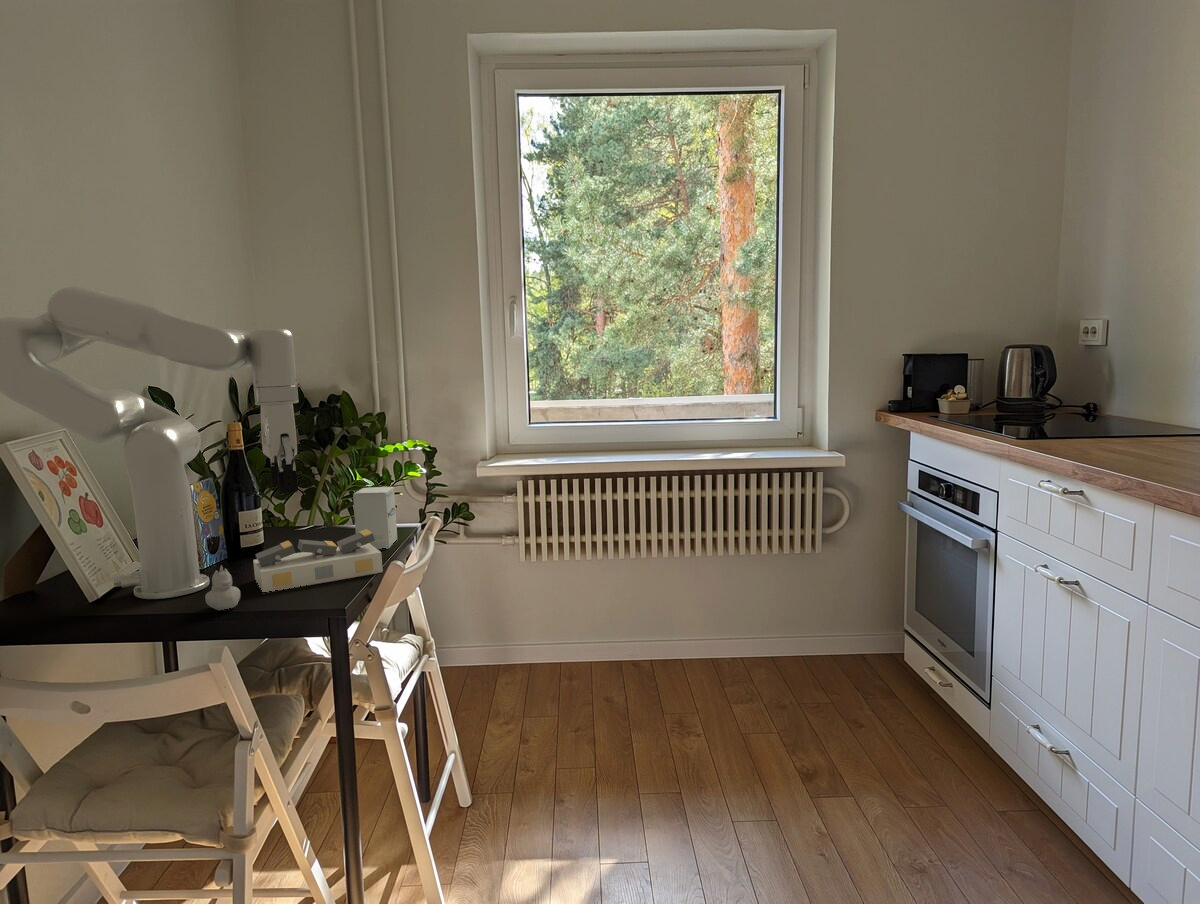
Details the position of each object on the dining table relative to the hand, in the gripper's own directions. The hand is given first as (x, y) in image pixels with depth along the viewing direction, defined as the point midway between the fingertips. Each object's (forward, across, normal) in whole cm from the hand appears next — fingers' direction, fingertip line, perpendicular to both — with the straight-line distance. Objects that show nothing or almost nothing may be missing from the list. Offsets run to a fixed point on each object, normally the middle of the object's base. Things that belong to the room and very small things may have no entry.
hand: (284, 488), depth 153 cm
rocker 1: (+12, 0, -3) cm, 13 cm away
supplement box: (+18, -17, +21) cm, 32 cm away
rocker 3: (+12, 0, +12) cm, 18 cm away
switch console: (+18, 0, +5) cm, 19 cm away
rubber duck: (+18, +10, -13) cm, 25 cm away
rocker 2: (+12, 0, +5) cm, 13 cm away
